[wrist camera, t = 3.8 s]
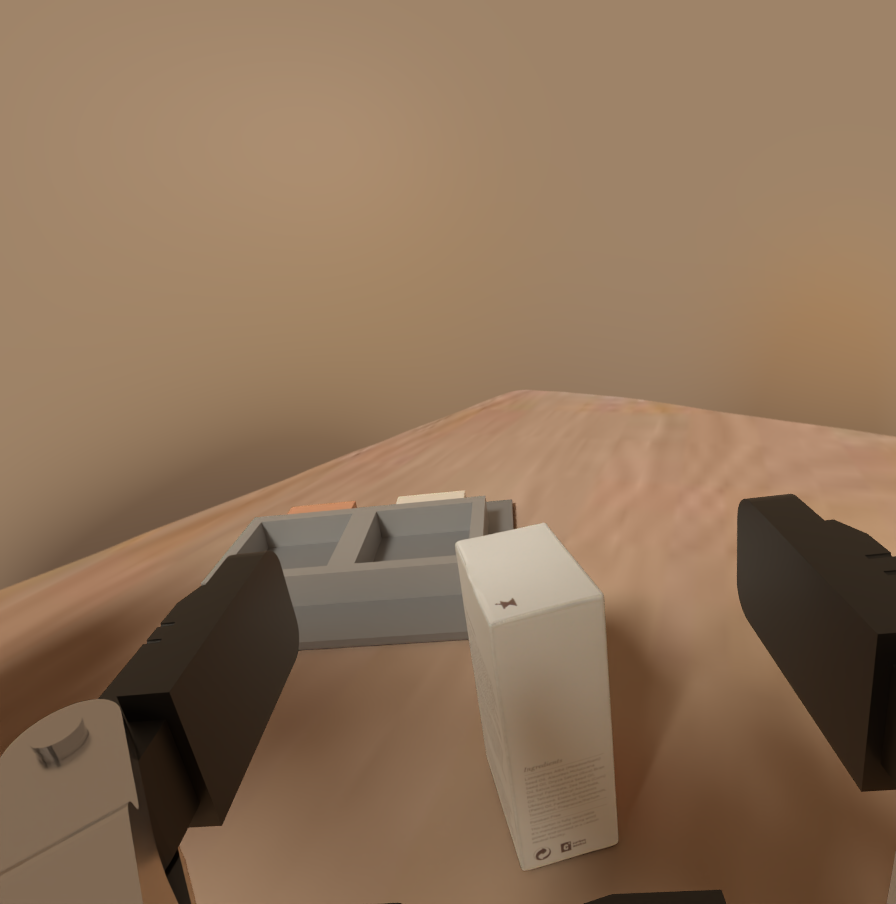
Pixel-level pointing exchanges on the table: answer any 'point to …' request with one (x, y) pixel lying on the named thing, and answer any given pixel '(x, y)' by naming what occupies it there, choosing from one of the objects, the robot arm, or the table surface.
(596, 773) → the skincare box
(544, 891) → the table surface
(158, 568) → the table surface
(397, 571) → the tray
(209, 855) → the table surface
